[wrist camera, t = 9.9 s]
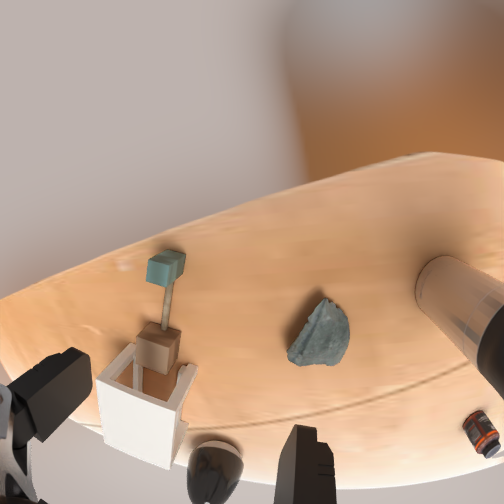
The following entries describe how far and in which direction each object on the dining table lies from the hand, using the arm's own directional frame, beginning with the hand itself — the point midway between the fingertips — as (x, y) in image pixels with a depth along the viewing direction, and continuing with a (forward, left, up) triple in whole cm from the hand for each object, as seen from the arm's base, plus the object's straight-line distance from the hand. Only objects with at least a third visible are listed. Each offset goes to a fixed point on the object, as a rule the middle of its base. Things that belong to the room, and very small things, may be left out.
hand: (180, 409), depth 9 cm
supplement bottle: (-54, +25, -30) cm, 67 cm away
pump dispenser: (-2, +41, -30) cm, 51 cm away
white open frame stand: (+11, +29, -30) cm, 43 cm away
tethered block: (+11, +12, -30) cm, 34 cm away
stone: (-12, +10, -30) cm, 34 cm away
